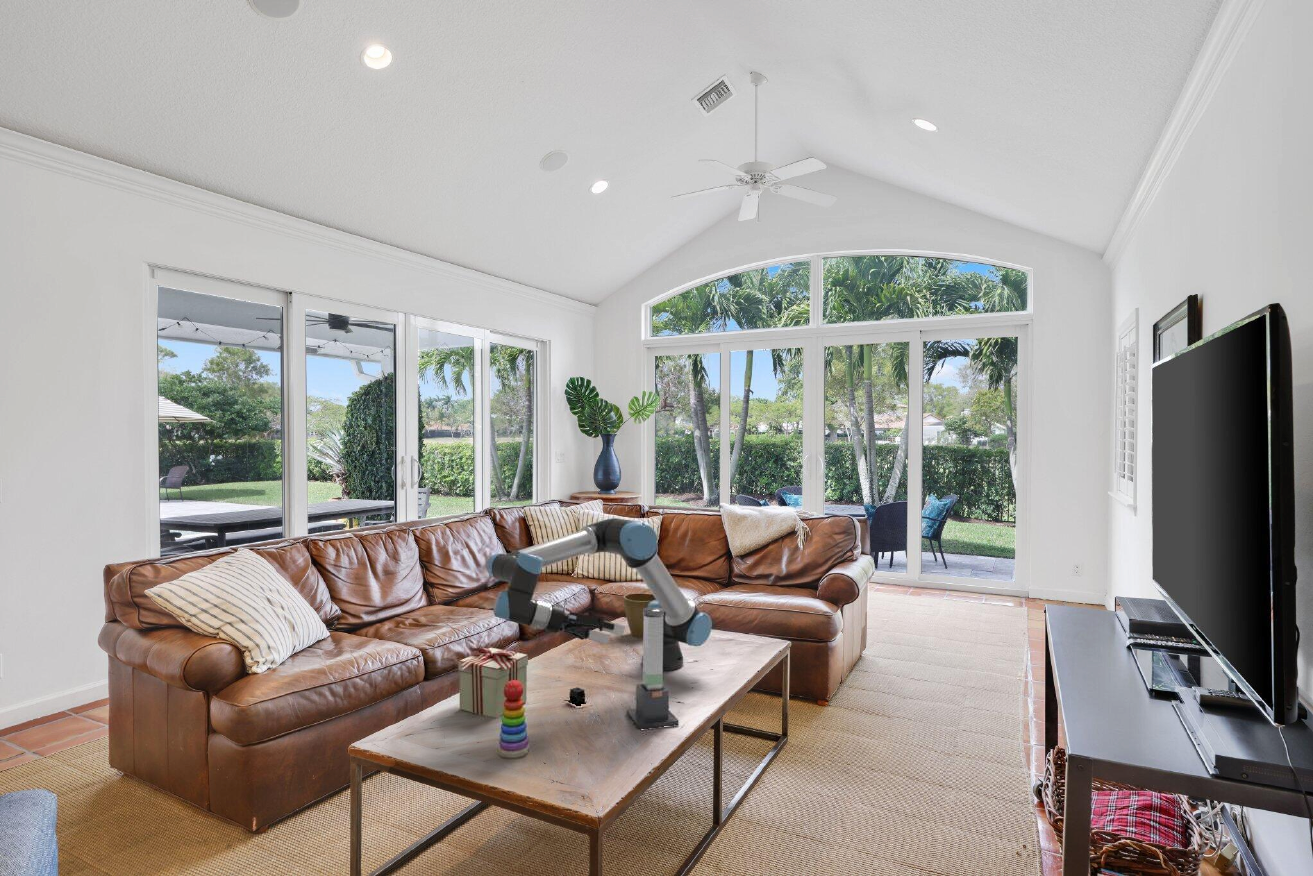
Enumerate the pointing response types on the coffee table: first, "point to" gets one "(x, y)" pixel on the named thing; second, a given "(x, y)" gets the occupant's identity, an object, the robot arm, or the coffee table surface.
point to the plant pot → (636, 611)
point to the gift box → (490, 679)
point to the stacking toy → (513, 723)
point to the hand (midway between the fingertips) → (616, 635)
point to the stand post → (653, 649)
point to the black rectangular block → (577, 696)
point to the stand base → (651, 709)
